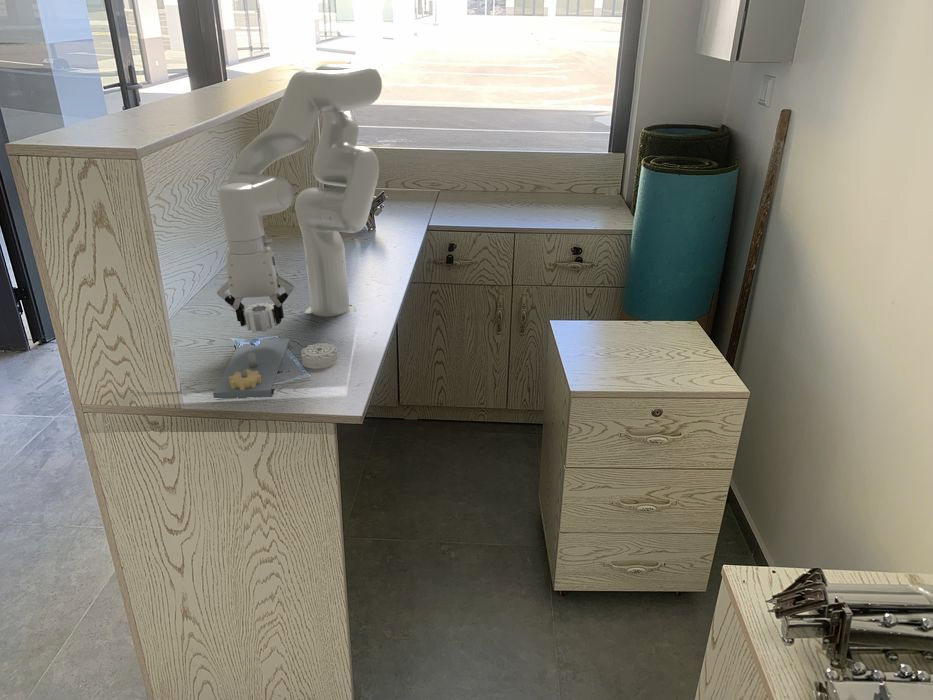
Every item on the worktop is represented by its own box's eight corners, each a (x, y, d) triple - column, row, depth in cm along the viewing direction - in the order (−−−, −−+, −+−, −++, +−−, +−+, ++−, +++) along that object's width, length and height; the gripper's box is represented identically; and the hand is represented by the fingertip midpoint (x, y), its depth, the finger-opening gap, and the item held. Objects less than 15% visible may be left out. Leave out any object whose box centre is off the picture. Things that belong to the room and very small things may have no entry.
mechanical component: (341, 378, 143) (347, 357, 152) (339, 358, 141) (346, 339, 150) (293, 379, 143) (302, 358, 152) (290, 359, 141) (299, 340, 150)
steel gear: (249, 319, 155) (245, 303, 153) (280, 317, 155) (278, 301, 153) (242, 333, 149) (239, 316, 147) (275, 331, 149) (272, 314, 147)
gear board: (241, 346, 157) (238, 328, 155) (290, 344, 158) (288, 326, 156) (214, 399, 135) (210, 378, 133) (271, 396, 135) (268, 376, 134)
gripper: (292, 236, 147) (303, 313, 156) (209, 241, 146) (225, 318, 154) (287, 248, 141) (299, 327, 149) (199, 252, 140) (217, 332, 148)
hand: (261, 322), depth 152 cm, fingers closed on steel gear, 7 cm apart
